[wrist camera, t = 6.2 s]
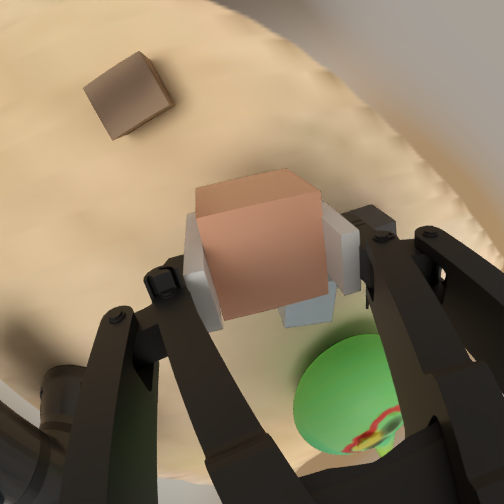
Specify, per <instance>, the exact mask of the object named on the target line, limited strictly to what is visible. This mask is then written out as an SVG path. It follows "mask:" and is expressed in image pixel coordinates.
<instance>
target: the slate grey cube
mask: <svg viewBox="0 0 504 504" xmlns="http://www.w3.org/2000/svg"><path fill="white" fill-rule="evenodd" d="M336 289H337V285H336V283H335V282H334V281H333V279H332V278H331V277H330V275H329V274H328V290H329V294H326V295H323V296H319V297H316V298H312V299H309V300H305V301H301V302H297V303H294V304H290V305H286V306H282V307H279V308H278V311H279V314H280V317H281V319H282V322H283V325H284V328H290V327H297V326H305V325H312V324H319V323H325V322H332V316H333V309H334V303H335V296H336Z"/></svg>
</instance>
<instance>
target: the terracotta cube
mask: <svg viewBox="0 0 504 504" xmlns="http://www.w3.org/2000/svg"><path fill="white" fill-rule="evenodd" d="M322 216H323V212H322V202H321V193H320V190H318V189H317V188H315V187H314V186H312V185H311V184H309V183H308V182H306V181H305V180H303V179H302V178H300V177H299V176H297V175H296V174H294V173H293V172H291V171H290V170H288V169H287V168H286V169H281V170H276V171H270V172H266V173H261V174H256V175H251V176H246V177H242V178H237V179H233V180H228V181H224V182H219V183H215V184H211V185H206V186H202V187H198V188H196V221H197V225H198V229H199V233H200V237H201V240H202V244H203V248H204V252H205V255H206V259H207V262H208V266H209V270H210V273H211V277H212V280H213V284H214V287H215V290H216V293H217V296H218V300H219V305H220V308H221V312H222V315H223V318H224V321H226V320H230V319H234V318H239V317H243V316H247V315H251V314H255V313H259V312H263V311H267V310H271V309H275V308H279V307H282V306H286V305H290V304H294V303H297V302H301V301H305V300H309V299H312V298H316V297H319V296H323V295H326V294H329V290H328V273H327V264H326V253H325V243H324V234H323V225H322Z"/></svg>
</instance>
